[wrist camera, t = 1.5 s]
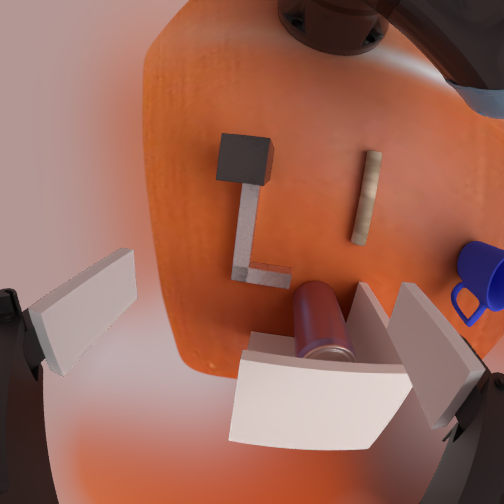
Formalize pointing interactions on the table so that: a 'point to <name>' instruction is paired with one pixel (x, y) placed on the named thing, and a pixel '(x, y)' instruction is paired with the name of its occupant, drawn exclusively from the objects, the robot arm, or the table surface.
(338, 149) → the table surface
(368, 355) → the corner shelf
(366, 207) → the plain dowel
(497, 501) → the robot arm
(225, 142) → the grey angled piece
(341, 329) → the beverage can
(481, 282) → the mug
